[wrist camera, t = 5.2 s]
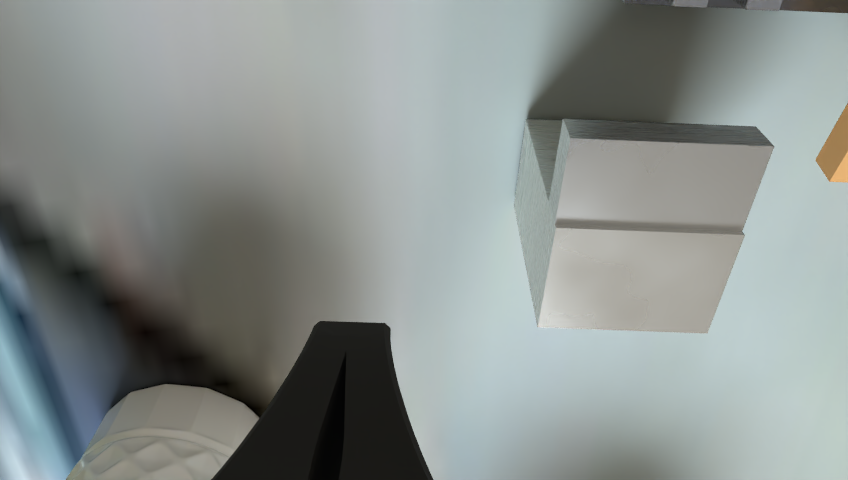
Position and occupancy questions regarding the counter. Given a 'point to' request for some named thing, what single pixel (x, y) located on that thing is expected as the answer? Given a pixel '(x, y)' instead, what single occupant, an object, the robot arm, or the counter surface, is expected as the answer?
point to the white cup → (166, 435)
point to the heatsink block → (757, 4)
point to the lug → (634, 220)
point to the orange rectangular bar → (836, 151)
